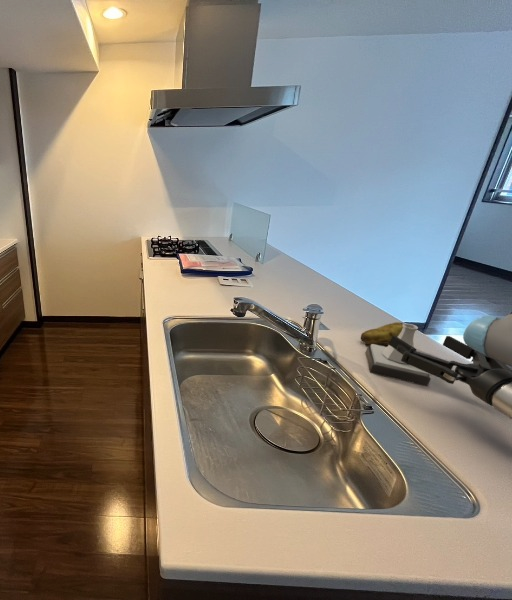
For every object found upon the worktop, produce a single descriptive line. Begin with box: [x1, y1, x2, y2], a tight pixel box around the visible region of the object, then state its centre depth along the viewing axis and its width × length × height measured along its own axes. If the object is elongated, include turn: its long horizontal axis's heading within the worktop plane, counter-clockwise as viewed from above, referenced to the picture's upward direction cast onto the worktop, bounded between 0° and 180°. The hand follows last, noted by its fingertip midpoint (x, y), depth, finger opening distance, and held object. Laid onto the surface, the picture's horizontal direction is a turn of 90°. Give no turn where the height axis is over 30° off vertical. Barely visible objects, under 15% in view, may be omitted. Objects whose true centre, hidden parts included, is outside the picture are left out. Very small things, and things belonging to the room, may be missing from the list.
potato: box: [360, 322, 405, 346], centre depth 100 cm, size 8×13×8 cm, turn 62°
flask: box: [382, 322, 419, 364], centre depth 87 cm, size 7×7×10 cm
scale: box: [365, 344, 432, 387], centre depth 90 cm, size 13×12×4 cm
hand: (418, 340), depth 83 cm, fingers open, 13 cm apart
